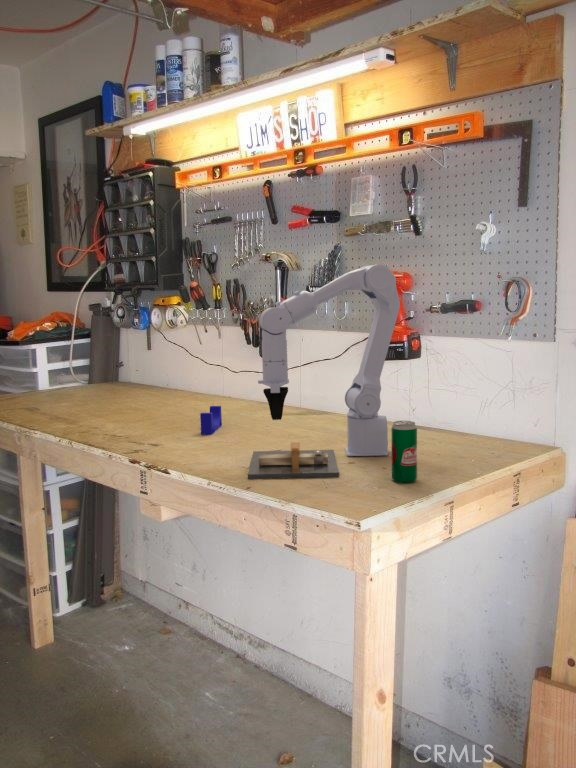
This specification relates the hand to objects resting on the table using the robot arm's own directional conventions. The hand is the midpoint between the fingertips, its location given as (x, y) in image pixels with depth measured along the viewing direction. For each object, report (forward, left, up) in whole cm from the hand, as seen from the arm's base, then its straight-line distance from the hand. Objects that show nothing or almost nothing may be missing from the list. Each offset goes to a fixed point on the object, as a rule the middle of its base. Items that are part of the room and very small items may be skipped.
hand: (276, 419), depth 158 cm
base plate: (-4, +7, -9) cm, 12 cm away
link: (-4, +9, -8) cm, 13 cm away
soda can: (-26, +20, -10) cm, 34 cm away
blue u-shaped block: (+20, -34, -10) cm, 41 cm away
